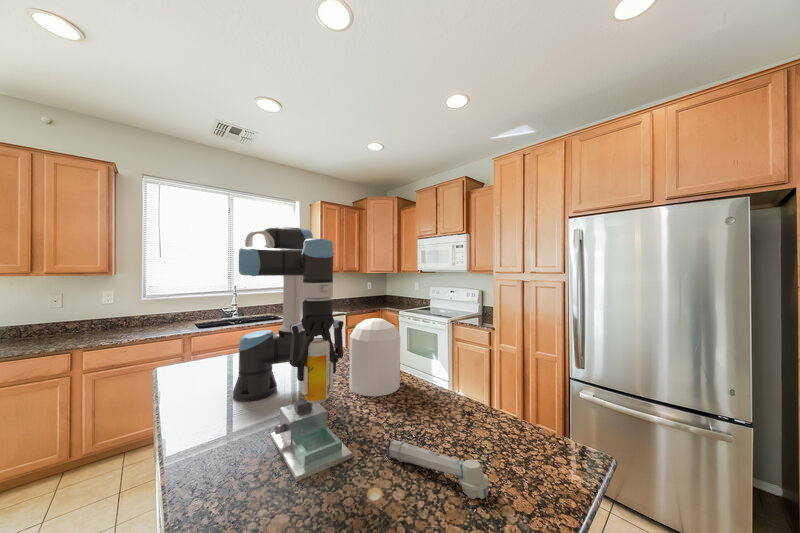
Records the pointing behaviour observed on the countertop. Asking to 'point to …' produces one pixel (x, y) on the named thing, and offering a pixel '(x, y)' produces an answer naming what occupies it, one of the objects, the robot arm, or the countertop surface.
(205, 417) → the countertop surface
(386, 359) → the container
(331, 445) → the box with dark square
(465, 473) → the toothbrush head
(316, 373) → the soda can
